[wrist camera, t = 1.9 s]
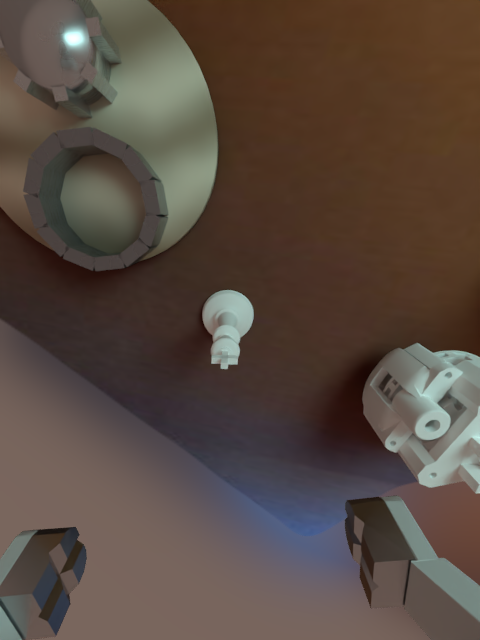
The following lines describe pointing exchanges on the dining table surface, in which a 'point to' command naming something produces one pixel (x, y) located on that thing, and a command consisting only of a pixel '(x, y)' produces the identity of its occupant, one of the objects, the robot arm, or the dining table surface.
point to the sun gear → (59, 52)
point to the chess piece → (227, 324)
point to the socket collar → (47, 188)
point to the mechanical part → (428, 412)
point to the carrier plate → (121, 136)
